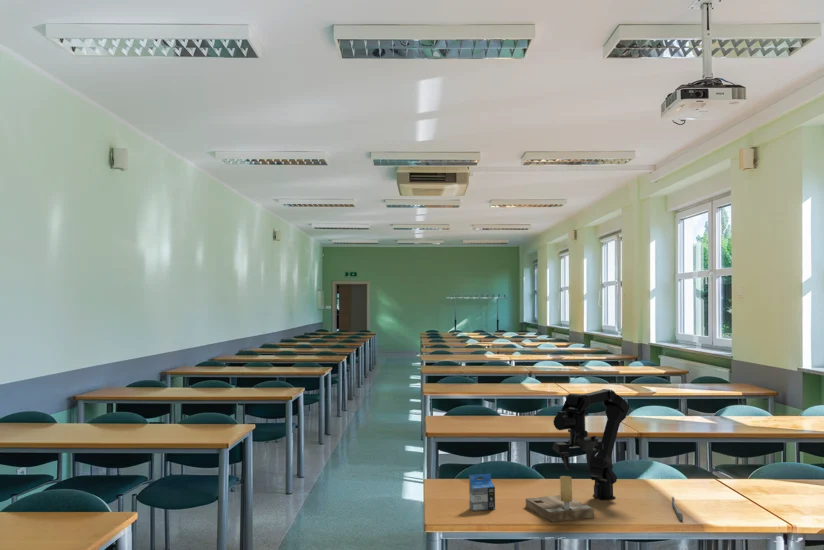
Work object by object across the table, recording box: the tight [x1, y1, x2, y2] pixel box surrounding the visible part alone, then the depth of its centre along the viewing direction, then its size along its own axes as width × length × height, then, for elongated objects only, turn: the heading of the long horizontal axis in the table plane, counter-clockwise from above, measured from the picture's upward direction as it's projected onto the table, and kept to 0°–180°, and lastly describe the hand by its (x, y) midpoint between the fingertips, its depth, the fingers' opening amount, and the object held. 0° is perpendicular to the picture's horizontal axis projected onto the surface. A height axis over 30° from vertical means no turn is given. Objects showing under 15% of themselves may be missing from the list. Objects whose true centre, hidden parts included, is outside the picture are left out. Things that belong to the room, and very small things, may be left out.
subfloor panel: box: [525, 494, 595, 523], centre depth 246 cm, size 16×20×3 cm
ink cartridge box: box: [468, 473, 496, 512], centre depth 251 cm, size 9×4×12 cm, turn 105°
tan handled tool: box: [559, 475, 573, 511], centre depth 239 cm, size 4×4×14 cm
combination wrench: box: [671, 496, 684, 522], centre depth 243 cm, size 4×1×20 cm
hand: (578, 469), depth 256 cm, fingers open, 9 cm apart
